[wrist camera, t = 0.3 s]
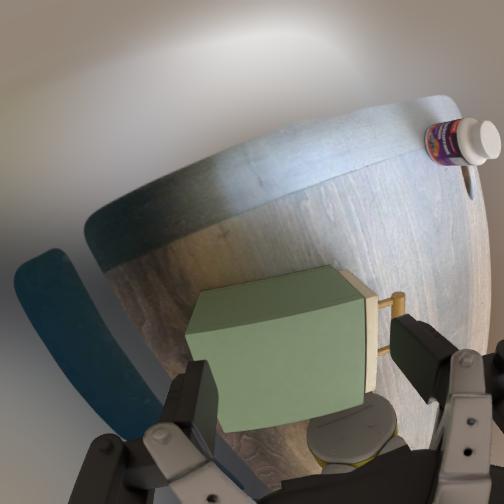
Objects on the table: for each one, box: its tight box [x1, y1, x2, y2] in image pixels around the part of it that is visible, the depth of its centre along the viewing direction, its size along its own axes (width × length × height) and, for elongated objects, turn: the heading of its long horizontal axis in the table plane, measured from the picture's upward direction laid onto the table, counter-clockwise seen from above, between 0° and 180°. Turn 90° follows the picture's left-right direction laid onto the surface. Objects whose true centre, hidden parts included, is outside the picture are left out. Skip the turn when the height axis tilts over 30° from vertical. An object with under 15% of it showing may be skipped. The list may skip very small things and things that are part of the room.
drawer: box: [338, 269, 405, 393], centre depth 27 cm, size 18×11×8 cm, turn 102°
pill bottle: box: [425, 118, 501, 166], centre depth 22 cm, size 5×5×10 cm
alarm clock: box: [307, 391, 406, 474], centre depth 27 cm, size 12×7×15 cm, turn 113°
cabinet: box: [185, 265, 365, 433], centre depth 27 cm, size 15×13×10 cm
